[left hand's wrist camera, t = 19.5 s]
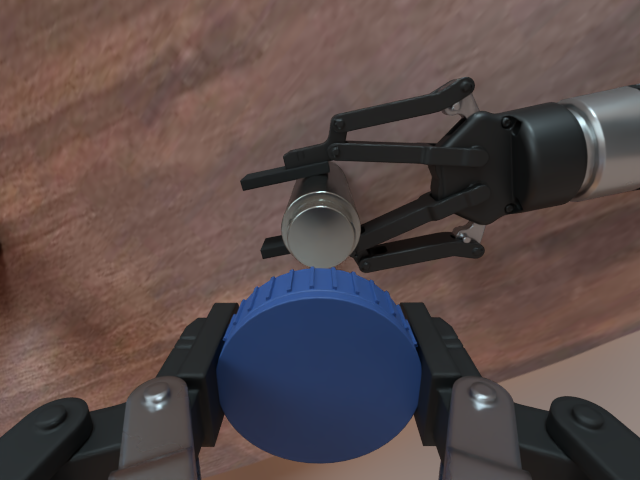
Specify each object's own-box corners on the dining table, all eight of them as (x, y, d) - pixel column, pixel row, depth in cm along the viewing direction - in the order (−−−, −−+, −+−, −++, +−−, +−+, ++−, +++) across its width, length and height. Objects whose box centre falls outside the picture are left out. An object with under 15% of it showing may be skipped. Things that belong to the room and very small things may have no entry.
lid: (389, 242, 10) (402, 268, 8) (425, 397, 12) (441, 443, 10) (199, 292, 10) (177, 326, 9) (262, 433, 12) (254, 482, 11)
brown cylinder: (307, 216, 35) (298, 288, 21) (288, 170, 34) (264, 215, 20) (353, 199, 35) (374, 261, 21) (336, 151, 33) (346, 184, 19)
